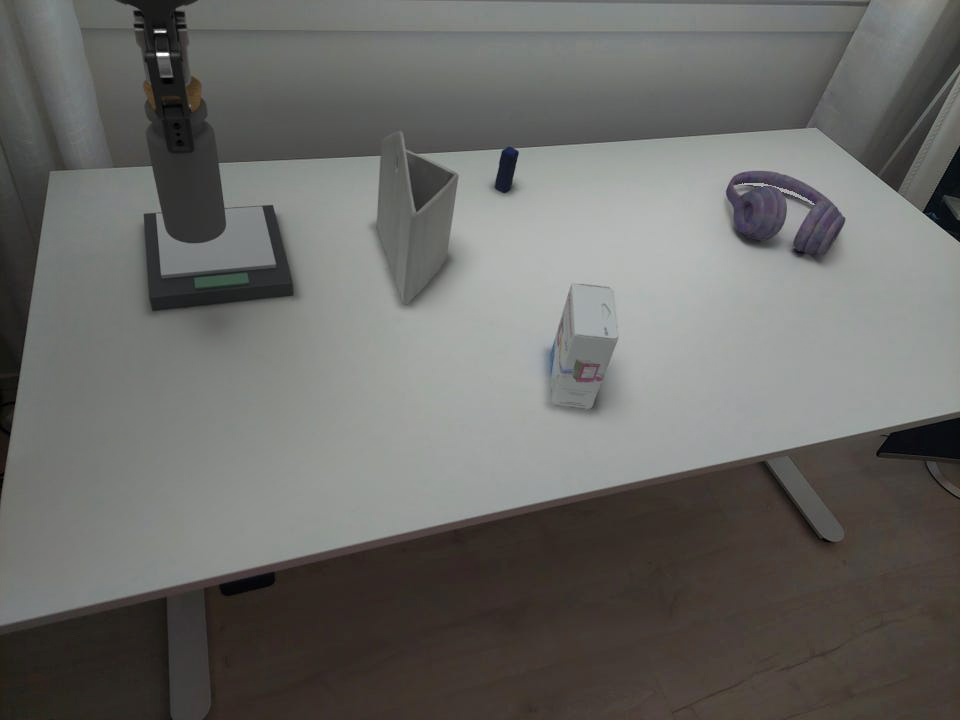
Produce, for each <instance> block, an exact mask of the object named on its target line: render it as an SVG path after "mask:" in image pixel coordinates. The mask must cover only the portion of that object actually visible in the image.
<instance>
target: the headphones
mask: <svg viewBox="0 0 960 720" xmlns="http://www.w3.org/2000/svg"><path fill="white" fill-rule="evenodd" d="M742 183H743V184H744V183H764V184H768V185H772V186H776V187H779V188H783V189H787V190H789V191H793V192H795V193H797V194H799V195H801V196H802V197H805V198H807V199H808V200H810V201H812V203H814V204H815V205H812V207H811V209H810V210H809V212H808V213H807V215H806V216H805V218H804V219H803V221H802V223H801V225H800V227H799V228H798V230H797V232H796V234H795V237H794V239H793V242H792V247H793V248H794V247H795V248H794V249H795V250H796V251H797V252H801V253H802V252H803V253H805V254H806V255H813V254H816V253H817V254H818V255H821V256H823V255H826V254H827V253H828V251H829V250H830V249H831V247H832V246H833V245H834V243H835V242H836V240H837V239H838V236H839V235H840V233H841V231H842V229H843V227H844V225H845V223H846V217H845V216H843V214H842V212H841V211H840V210H839V208H838V206H836V205H835V204H834V202H832V201H831V200H830V198H828V197H827V196H826V195H824V194H823V193H821V192H820V191H818V190H817V189H816V188H814V187H813V186H810V185H809V184H808V183H805V182H804V181H802V180H800V179H797V178H795V177H793V176H790V175H787V174H782V173H780V172H777V171H769V170H748V171H743V172H742V171H741V172H738V173H737V174H735V175H733V176H732V178H731V179H730V181H729V182H728V185H727V187H726V189H725V195H726V198H727V200H728V201H729V203H730V204H731V206H732V209H733V214H732V215H733V223H734V226H735V228H736V230H737V231H738V232H739V233H741V234H743V235H744V236H745V237H746V238H749V239H752V240H758V241H767V240H769V239H772V238H774V237H776V236H777V235H778V234H779V233H780V231H781V230H782V228H783V227H784V225H785V223H786V218H787V215H788V214H787V213H788V206H787V205H788V204H787V200H786V197H790V198H792V199H796V200H798V201H802V202H804V203H807V204H810V203H808V202H806V201H804V200H802V199H800V198H798V197H795V196H793V195H790V194H787V193H784V192H781V191H780V190H779V189H777V188H775V187H772V186H763V187H761V186H753V185H744V187H745V186H746V187H752V188H751V189H749V190H748V191H746V192H744V193H742V194H739V193H738V191H737V189H736V188H735V186H739V185H738V184H742ZM810 205H811V204H810ZM799 250H800V251H799ZM812 253H813V254H812Z"/></svg>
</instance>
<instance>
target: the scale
mask: <svg viewBox="0 0 960 720" xmlns="http://www.w3.org/2000/svg"><path fill="white" fill-rule="evenodd" d="M224 208H225V217H226V228H225V230H224V232H223V233H222V234H221V235H220V236H219V237H217V238H216V239H214V240H211V241H208V242H204V243H185V242H180V241H178V240H176V239H174V238H172V237H171V236H170V235H169V234H168V233H167V231H166V229H165V225H164V220H163V216H162V211H161V212H150V213H149V212H148V213H143V225H144V227H143V228H144V240H145V241H144V242H145V255H146V256H145V257H146V269H147V270H146V271H147V287H148V298H149V303H150V306H151V307H150V308H151V311H152V312H158V311H165V310H174V309H175V310H176V309H185V308H191V307H192V308H193V307H200V306H210V305H211V306H212V305H219V304H220V305H221V304H229V303H239V302H247V301H257V300H266V299H275V298H283V297H284V298H285V297H293V296H294V282H293V279H292V275H291V270H290V267H289V263H288V259H287V254H286V250H285V247H284V242H283V238H282V235H281V231H280V226H279V223H278V219H277V215H276V212H275V207H274V205H273V204H266V205H265V204H264V205H251V206H250V205H249V206H237V207H224Z"/></svg>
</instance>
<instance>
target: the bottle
mask: <svg viewBox="0 0 960 720" xmlns="http://www.w3.org/2000/svg"><path fill="white" fill-rule="evenodd" d="M142 89H143V91H144V94H145V96H146V100H145V103H144V112H145V117H146V118H147V119H148V121H149V122H150V123H149V125H148V126H147V128H146V130H145V139H146V144H147V149H148V154H149V159H150V164H151V169H152V173H153V178H154V183H155V187H156V192H157V196H158V201H159V207H160V210H161V212H162V216H163V220H164V225H165V229H166V231H167V233H168V234H169V235H170V236H171V237H172V238H174V239H176V240H178V241H180V242H185V243H204V242H208V241H211V240H214V239H216V238H217V237H219V236H220V235H221V234H222V233H223V232H224V230H225V228H226V217H225V208H226V207H225V201H224V194H223V186H222V178H221V169H220V163H219V155H218V147H217V141H216V135H215V130H214V128H213V126H212V125H211V124H210V123H209V122H208V121H206V119H207V117H208V106H207V103H206V101H205V100H204V99H203V98H202V89H203V85H202V83H201V81H200V80H199V79H198V78H196V77H194V76H193V75H191V82H190V84H188V85H187V86H186V89H187V96H188V102H189V104H191V112H192V114H190V122H191V129H192V135H193V141H194V151H193V152H192V153H180V154H172V153H170V152H169V151H168V150H167V145H166V139H165V134H164V129H163V124H162V120H159V119H158V115H156V114H155V108H156V105H155V101H154V96H153V91H152V86H151V85H150V84H149V83H148V82H147V80H146V79H145V80H144V81H143V83H142ZM173 99H181V98H180V97H178V96H163V100H173Z"/></svg>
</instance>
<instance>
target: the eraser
mask: <svg viewBox="0 0 960 720" xmlns="http://www.w3.org/2000/svg"><path fill="white" fill-rule="evenodd" d="M519 155H520V152H519V150H517V149H516V148H514V147H512V146H507V147H505V148H504V149H502V150H501V154H500V158H499V162H498V169H497V173H496V177H495V182H494V189H495V190H496V191H497V192H499V193H503V194H507V193H508V192H509V191H511V188H512V185H513V180H514V176H515V172H516V168H517V162H518V158H519Z"/></svg>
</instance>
